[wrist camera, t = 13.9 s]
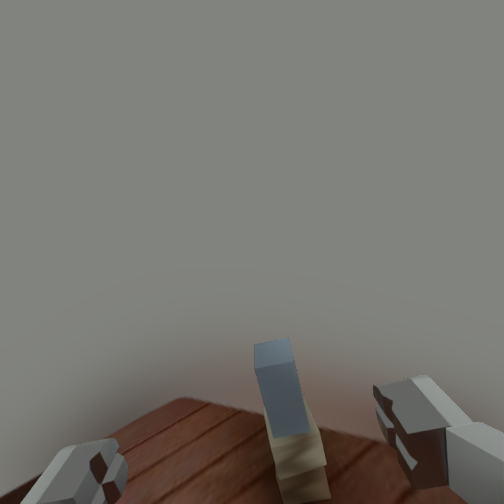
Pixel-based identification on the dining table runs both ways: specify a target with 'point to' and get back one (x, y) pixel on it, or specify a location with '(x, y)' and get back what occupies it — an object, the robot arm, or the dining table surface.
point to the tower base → (304, 487)
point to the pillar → (280, 388)
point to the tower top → (297, 449)
